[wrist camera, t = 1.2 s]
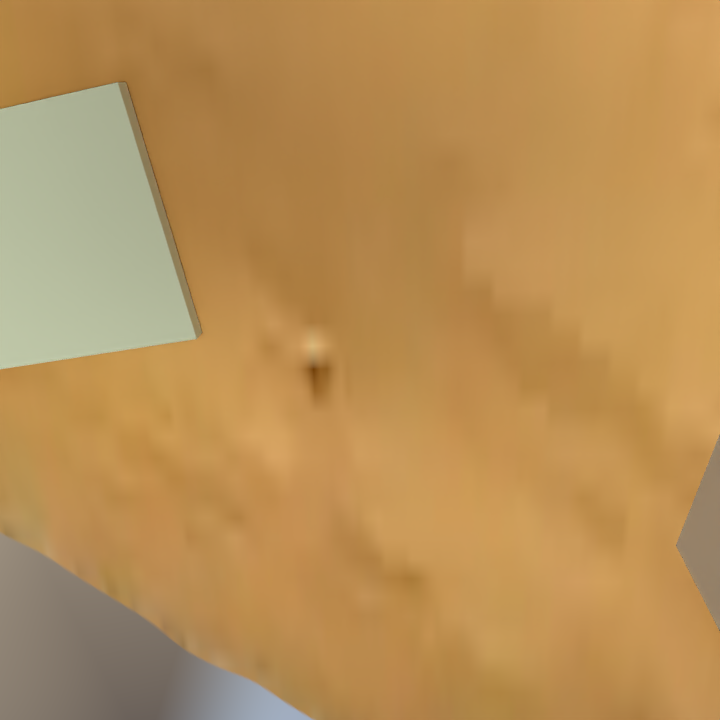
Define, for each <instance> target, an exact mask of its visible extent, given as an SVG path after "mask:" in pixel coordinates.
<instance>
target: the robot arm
mask: <svg viewBox="0 0 720 720" xmlns="http://www.w3.org/2000/svg"><path fill="white" fill-rule="evenodd" d="M676 546H677V548H678V550H679V552H680V554H681V556H682V558H683V560H684V562H685V564H686V566H687V568H688V570H689V572H690V574H691V576H692V578H693V580H694V582H695V584H696V586H697V588H698V589H699V591H700V593H701V595H702V597H703V599H704V601H705V603H706V605H707V607H708V609H709V611H710V613H711V615H712V617H713V619H714V621H715V623H716V625H717V627H718V629H719V631H720V435H719V438H718V440H717V443H716V445H715V448H714V450H713V453H712V455H711V458H710V460H709V463H708V466H707V468H706V471H705V473H704V476H703V478H702V481H701V483H700V486H699V488H698V491H697V493H696V496H695V498H694V501H693V504H692V506H691V509H690V511H689V514H688V516H687V519H686V521H685V524H684V526H683V529H682V531H681V534H680V536H679V539H678V542H677V544H676Z"/></svg>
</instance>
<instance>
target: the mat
mask: <svg viewBox="0 0 720 720" xmlns="http://www.w3.org/2000/svg"><path fill="white" fill-rule="evenodd" d="M201 334H202V331H201V327H200V324H199V321H198V317H197V314H196V311H195V308H194V304H193V301H192V298H191V294H190V291H189V288H188V285H187V281H186V278H185V275H184V271H183V268H182V265H181V262H180V258H179V255H178V252H177V248H176V245H175V242H174V238H173V235H172V232H171V229H170V225H169V222H168V219H167V215H166V212H165V209H164V206H163V202H162V199H161V196H160V192H159V189H158V186H157V183H156V179H155V176H154V173H153V169H152V166H151V163H150V159H149V156H148V153H147V150H146V146H145V143H144V140H143V136H142V133H141V130H140V127H139V123H138V120H137V117H136V113H135V110H134V107H133V104H132V100H131V97H130V94H129V90H128V87H127V84H126V82H116V83H112V84H108V85H103V86H99V87H95V88H90V89H86V90H82V91H77V92H73V93H68V94H64V95H60V96H55V97H51V98H47V99H42V100H38V101H34V102H29V103H25V104H20V105H16V106H12V107H7V108H3V109H0V369H5V368H11V367H18V366H24V365H31V364H37V363H44V362H50V361H57V360H63V359H70V358H76V357H83V356H89V355H96V354H102V353H109V352H115V351H122V350H128V349H135V348H141V347H148V346H154V345H160V344H167V343H173V342H180V341H186V340H193V339H197V338H198V337H199V336H200V335H201Z"/></svg>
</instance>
